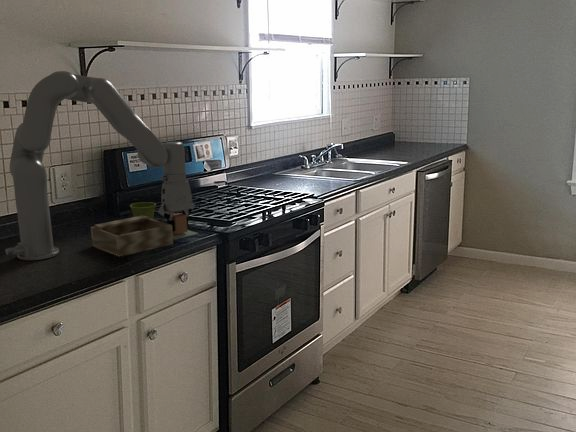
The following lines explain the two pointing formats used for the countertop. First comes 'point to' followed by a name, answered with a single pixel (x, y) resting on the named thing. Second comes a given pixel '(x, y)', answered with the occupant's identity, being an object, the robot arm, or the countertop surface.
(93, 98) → the robot arm
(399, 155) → the countertop surface
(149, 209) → the plant pot
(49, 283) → the countertop surface
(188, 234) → the mat
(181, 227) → the block
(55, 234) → the countertop surface
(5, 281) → the countertop surface
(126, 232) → the crate
